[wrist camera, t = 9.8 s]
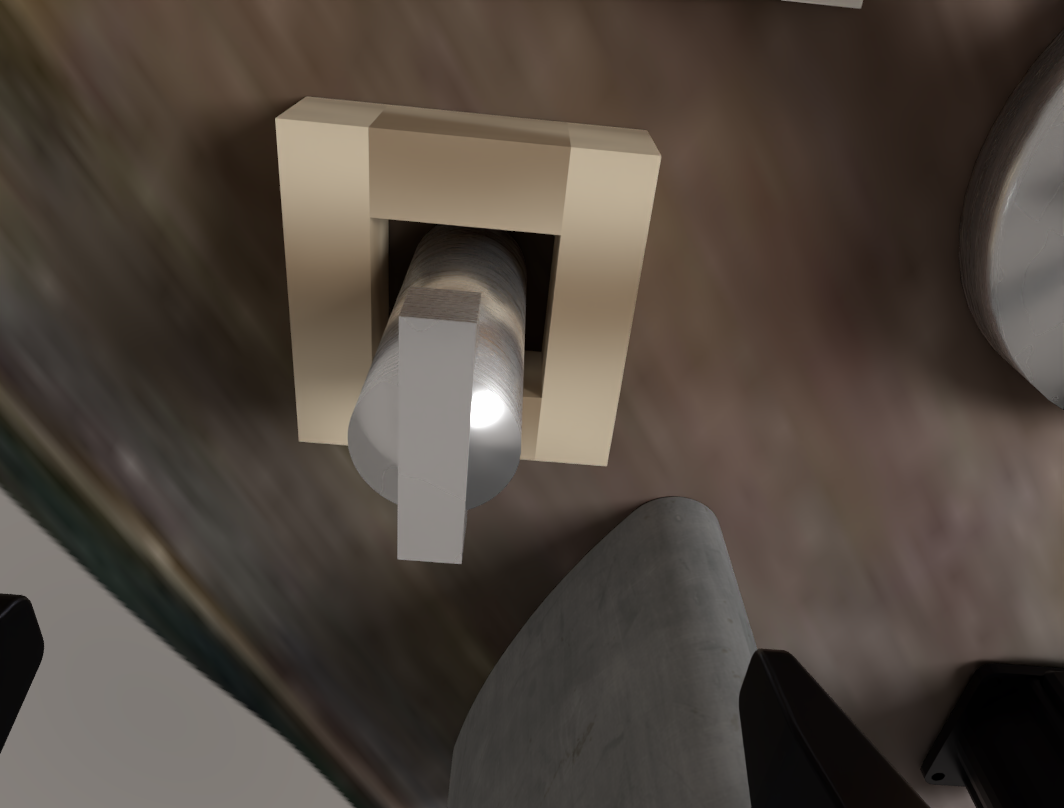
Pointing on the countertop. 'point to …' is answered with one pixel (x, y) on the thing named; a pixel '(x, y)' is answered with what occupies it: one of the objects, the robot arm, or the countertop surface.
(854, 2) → the white square plate
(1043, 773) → the robot arm
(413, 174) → the socket
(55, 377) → the countertop surface
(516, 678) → the hip flask
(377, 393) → the shiny silver metal piece
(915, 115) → the countertop surface
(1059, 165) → the base
